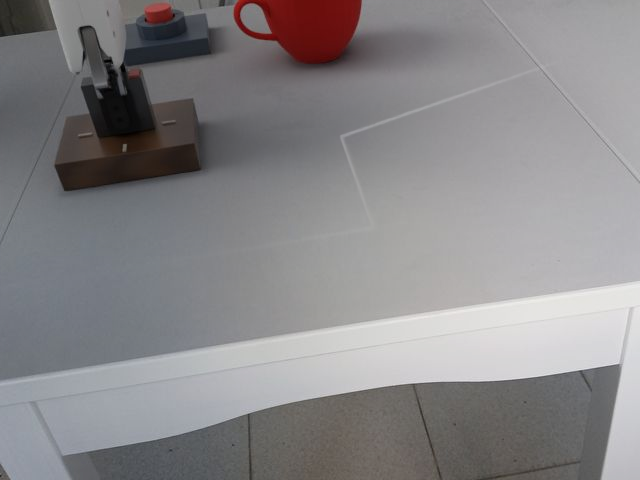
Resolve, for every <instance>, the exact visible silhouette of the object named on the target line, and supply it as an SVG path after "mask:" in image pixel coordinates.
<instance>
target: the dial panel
mask: <svg viewBox="0 0 640 480" xmlns="http://www.w3.org/2000/svg"><path fill="white" fill-rule="evenodd" d="M151 104H152V107H153V111H154V115H155V118H156V126H155V129H152V130H145V131H139V132H132V133H126V134H119V135H112V136H106V137H99V138H98V137H97V134H96V131H95V128H94V125H93V122H92V119H91V116H90V113H86V114H85V113H84V114H77V115H71V116H70V115H69V116H66V118H65V123H64V126H63V129H62V133H61V137H60V141H59V145H58V148H57V152H56V155H55V159H54V163H53V166H54V168H55V171H56V173H57V177H58V178H59V181H60V184H61V186H62V189H63V191H64V192H66V191H72V190H79V189H85V188H91V187H98V186H99V187H100V186H105V185H112V184H117V183H124V182H131V181H136V180H137V181H138V180H143V179H149V178H155V177H161V176H167V175H175V174H180V173H188V172H195V171H200V170H201V169H202V167H201V144H200V143H201V142H200V121H199V117H198V113H197V110H196V105H195V104H196V103H195V100H194V98H193V97H189V98H183V99H178V100H177V99H176V100H171V101H164V102H157V103H151Z"/></svg>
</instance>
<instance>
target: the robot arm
mask: <svg viewBox="0 0 640 480" xmlns="http://www.w3.org/2000/svg"><path fill="white" fill-rule="evenodd" d="M48 5H49V7H50V10H51V13H52V16H53V22H54V24H55V27H56V30H57V34H58V37H59V41H60V44H61V47H62V50H63V54H64V57H65V60H66V64H67V67H68V70H69V71H70V73H71V74H73V75H75V76H79V75H80V74H81V73H82V72H83V68H84V66H85V65H84V64H85V62H86V65H87V69H88V72H89V75H90V77H91V78H92V81H93V84H94V87H95V90H96V94H97V97H98V101H99V104H100V107H101V110H102V113H103V116H104V119H105V123H106V126H107V129H108V132H109V134H111V135H118V134H125V133H131V132H137V131H139V130H140V123H139V120H138V117H137V113H136V110H135V106H134V103H133V99H132V96H131V93H130V92H127V90H126V86H125V83H124V79H123V76H122V73H121V72H126V71H129V69H128V66H127V65H126V61H125V58H124V53H125V46H126V30H125V25H126V24H125V20H124V16H123V12H122V7H121V5H120V0H48ZM112 73H114V75H115V78H114V76H113V75H110V76H109V75H108V74H112Z"/></svg>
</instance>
